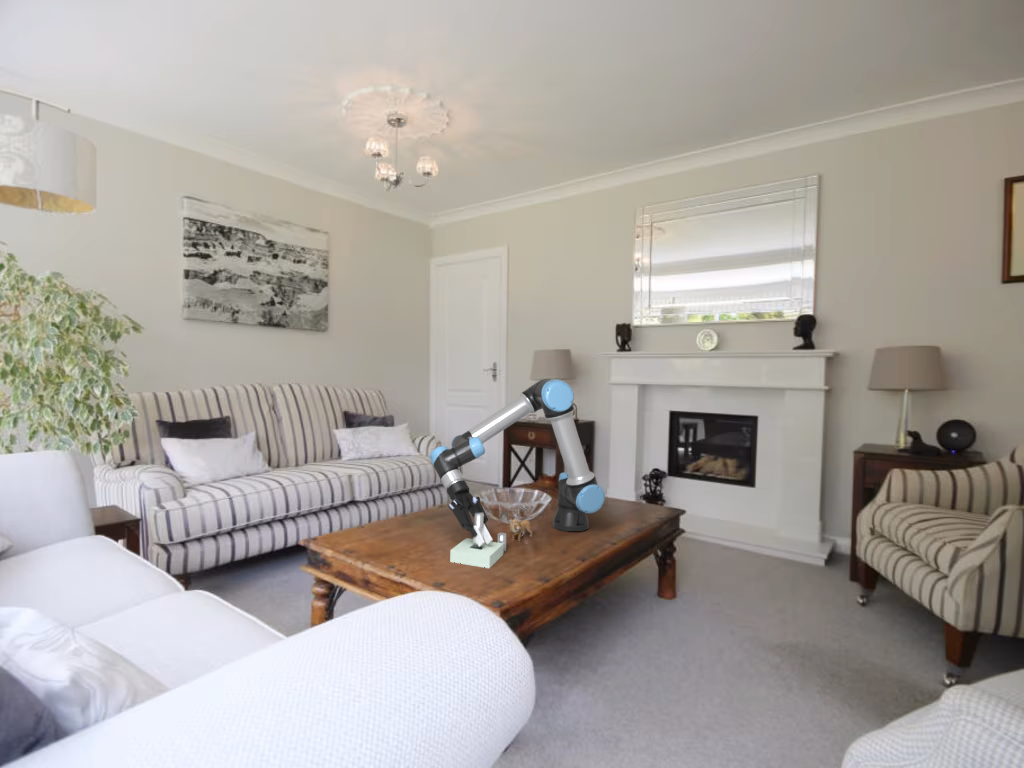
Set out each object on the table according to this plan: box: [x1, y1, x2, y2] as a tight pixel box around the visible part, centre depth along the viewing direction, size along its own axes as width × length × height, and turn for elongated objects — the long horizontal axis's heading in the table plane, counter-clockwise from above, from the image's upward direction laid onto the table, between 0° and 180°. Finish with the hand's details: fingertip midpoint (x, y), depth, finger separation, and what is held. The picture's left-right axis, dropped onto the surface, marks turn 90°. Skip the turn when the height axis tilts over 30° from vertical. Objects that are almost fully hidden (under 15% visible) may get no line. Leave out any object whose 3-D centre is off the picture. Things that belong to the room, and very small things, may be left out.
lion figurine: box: [509, 518, 533, 541], centre depth 204 cm, size 15×5×9 cm, turn 152°
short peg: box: [497, 532, 508, 553], centre depth 191 cm, size 3×3×6 cm
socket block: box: [449, 537, 504, 569], centre depth 182 cm, size 14×14×4 cm
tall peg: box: [472, 512, 484, 550], centre depth 182 cm, size 3×3×14 cm
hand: (485, 543), depth 179 cm, fingers closed on tall peg, 3 cm apart
